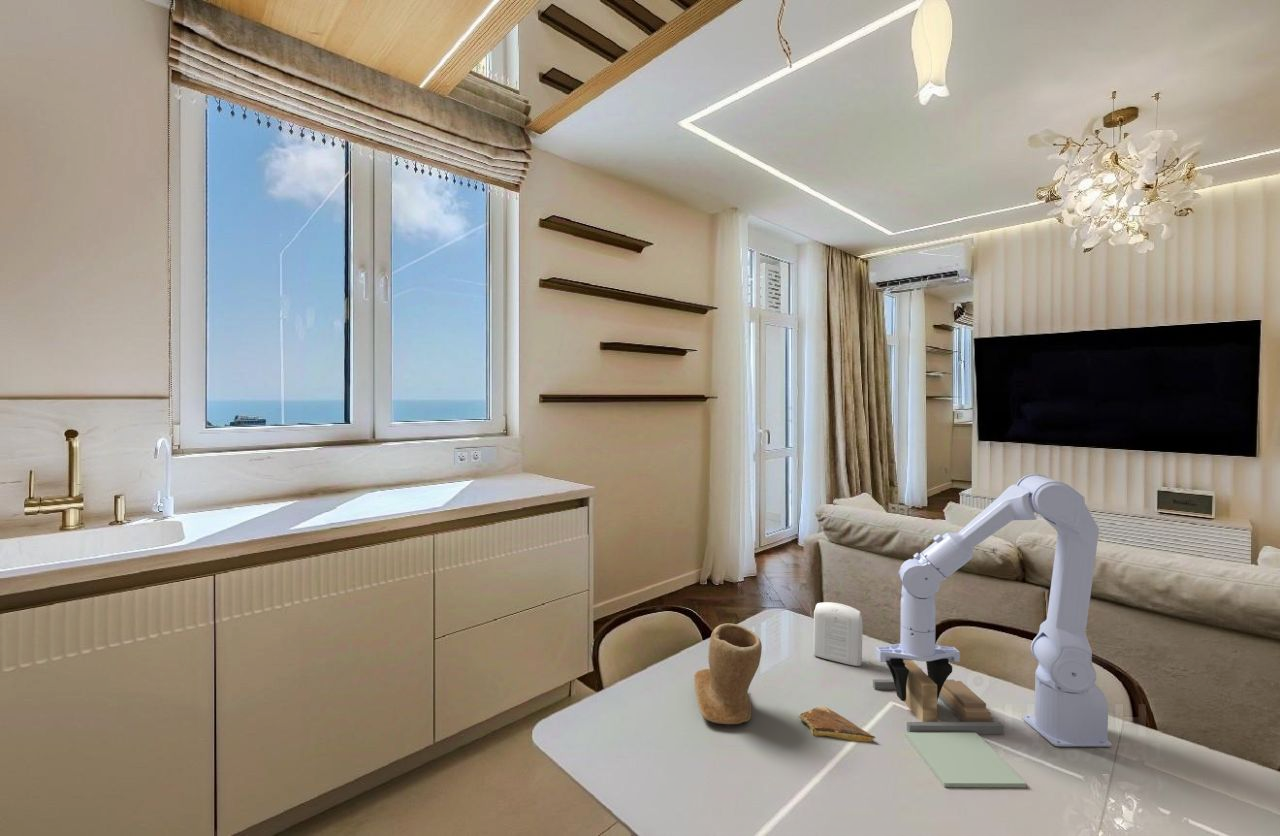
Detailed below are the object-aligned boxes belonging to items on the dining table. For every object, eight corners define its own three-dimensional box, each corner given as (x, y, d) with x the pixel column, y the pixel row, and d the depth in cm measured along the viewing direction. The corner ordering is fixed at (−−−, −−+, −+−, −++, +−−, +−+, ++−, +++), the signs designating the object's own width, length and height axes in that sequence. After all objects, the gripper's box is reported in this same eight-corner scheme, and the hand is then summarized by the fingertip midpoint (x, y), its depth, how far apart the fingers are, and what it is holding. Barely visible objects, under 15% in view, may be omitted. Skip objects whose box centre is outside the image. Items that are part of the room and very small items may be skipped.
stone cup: (767, 731, 92) (767, 646, 92) (698, 729, 93) (698, 645, 92) (752, 684, 107) (752, 611, 107) (693, 683, 108) (693, 611, 107)
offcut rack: (953, 686, 106) (953, 672, 106) (1003, 734, 91) (1004, 717, 91) (872, 686, 106) (872, 672, 106) (909, 733, 91) (909, 716, 91)
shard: (875, 745, 89) (875, 735, 89) (844, 761, 85) (844, 750, 85) (824, 712, 98) (824, 703, 98) (794, 725, 95) (794, 715, 95)
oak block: (911, 695, 103) (912, 660, 103) (936, 724, 94) (937, 685, 94) (898, 695, 103) (899, 660, 103) (922, 724, 94) (923, 685, 94)
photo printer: (863, 660, 117) (863, 605, 116) (860, 669, 113) (860, 611, 113) (815, 649, 122) (815, 596, 122) (811, 657, 118) (811, 602, 118)
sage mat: (976, 735, 90) (976, 732, 90) (1026, 787, 78) (1026, 783, 78) (905, 735, 91) (905, 732, 91) (944, 787, 79) (944, 783, 79)
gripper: (945, 617, 102) (944, 686, 102) (869, 617, 102) (868, 686, 103) (967, 633, 95) (966, 707, 95) (885, 633, 95) (885, 707, 96)
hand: (917, 698), depth 98 cm, fingers open, 5 cm apart
